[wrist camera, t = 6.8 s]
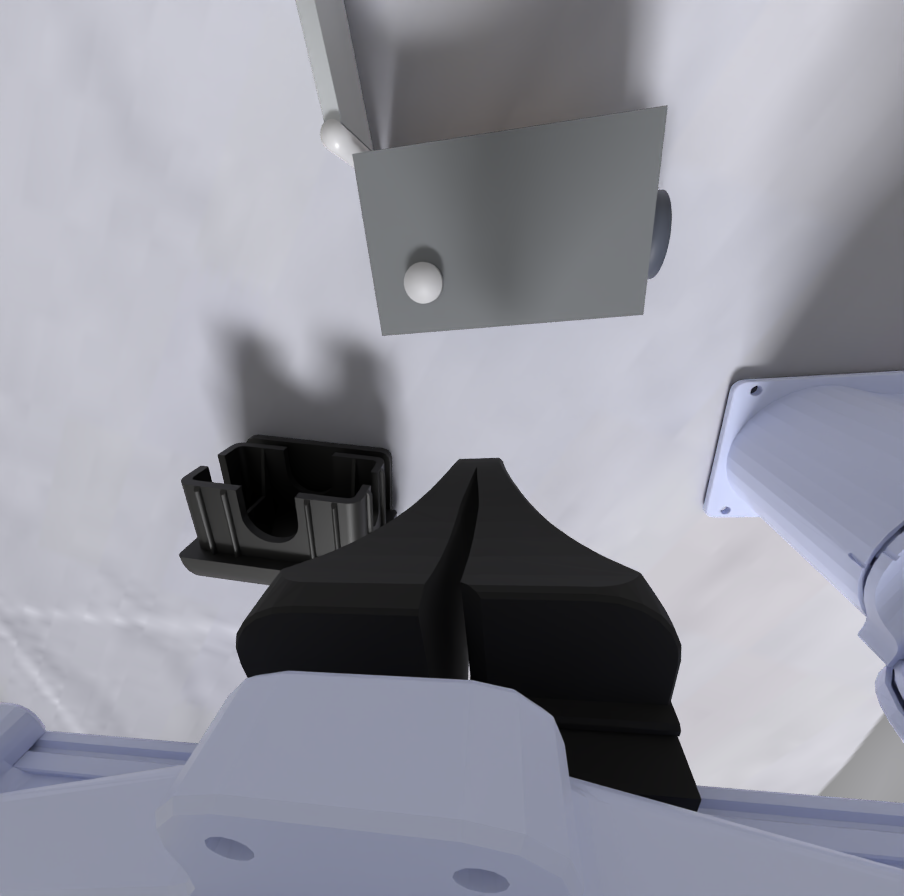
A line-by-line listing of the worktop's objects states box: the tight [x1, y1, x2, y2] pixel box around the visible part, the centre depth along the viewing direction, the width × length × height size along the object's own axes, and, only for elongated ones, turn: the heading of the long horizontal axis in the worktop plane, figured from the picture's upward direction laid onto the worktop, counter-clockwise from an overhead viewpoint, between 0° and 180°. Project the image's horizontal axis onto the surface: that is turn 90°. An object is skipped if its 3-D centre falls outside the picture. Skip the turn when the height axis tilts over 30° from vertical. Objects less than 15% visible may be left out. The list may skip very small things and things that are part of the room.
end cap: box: [179, 435, 397, 585], centre depth 21 cm, size 10×7×7 cm
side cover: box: [295, 0, 374, 169], centre depth 13 cm, size 9×1×4 cm, turn 9°
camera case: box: [352, 105, 672, 336], centre depth 15 cm, size 11×6×5 cm, turn 95°
